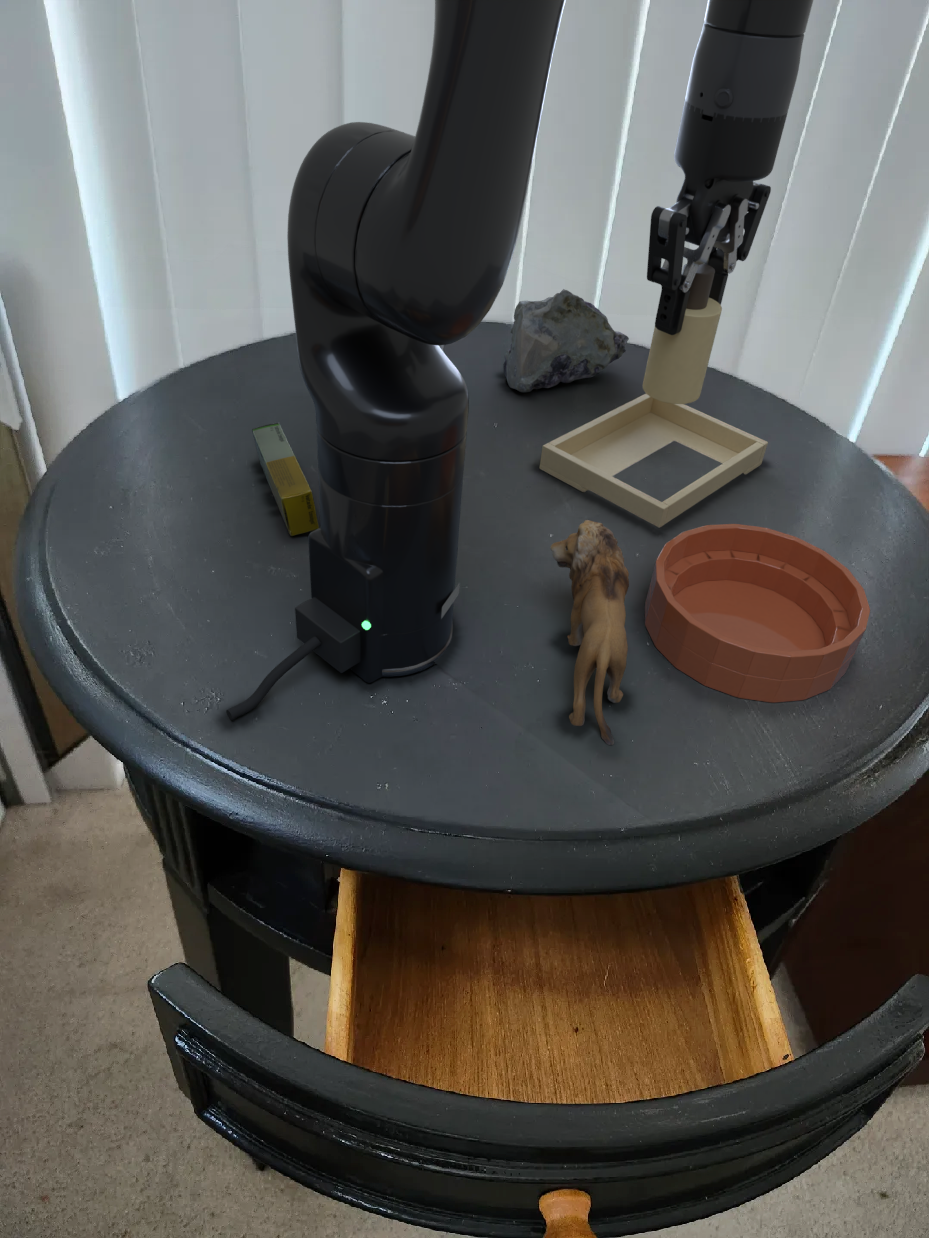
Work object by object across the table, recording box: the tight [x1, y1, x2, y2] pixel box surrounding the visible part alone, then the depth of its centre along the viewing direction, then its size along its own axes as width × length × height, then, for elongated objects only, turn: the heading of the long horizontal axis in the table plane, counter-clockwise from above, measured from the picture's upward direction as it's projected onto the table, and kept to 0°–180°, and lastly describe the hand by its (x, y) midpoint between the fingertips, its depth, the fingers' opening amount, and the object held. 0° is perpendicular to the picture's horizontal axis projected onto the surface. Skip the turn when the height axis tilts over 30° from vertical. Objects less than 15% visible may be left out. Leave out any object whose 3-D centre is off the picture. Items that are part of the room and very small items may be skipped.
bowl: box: [644, 523, 871, 704], centre depth 69 cm, size 15×15×5 cm
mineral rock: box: [502, 288, 630, 393], centre depth 97 cm, size 13×11×10 cm
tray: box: [538, 393, 769, 528], centre depth 87 cm, size 18×14×2 cm
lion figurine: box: [550, 519, 630, 746], centre depth 63 cm, size 15×5×9 cm, turn 6°
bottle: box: [642, 263, 723, 405], centre depth 79 cm, size 5×5×11 cm
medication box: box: [251, 422, 320, 537], centre depth 79 cm, size 12×3×4 cm, turn 21°
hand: (686, 321), depth 79 cm, fingers closed on bottle, 5 cm apart
